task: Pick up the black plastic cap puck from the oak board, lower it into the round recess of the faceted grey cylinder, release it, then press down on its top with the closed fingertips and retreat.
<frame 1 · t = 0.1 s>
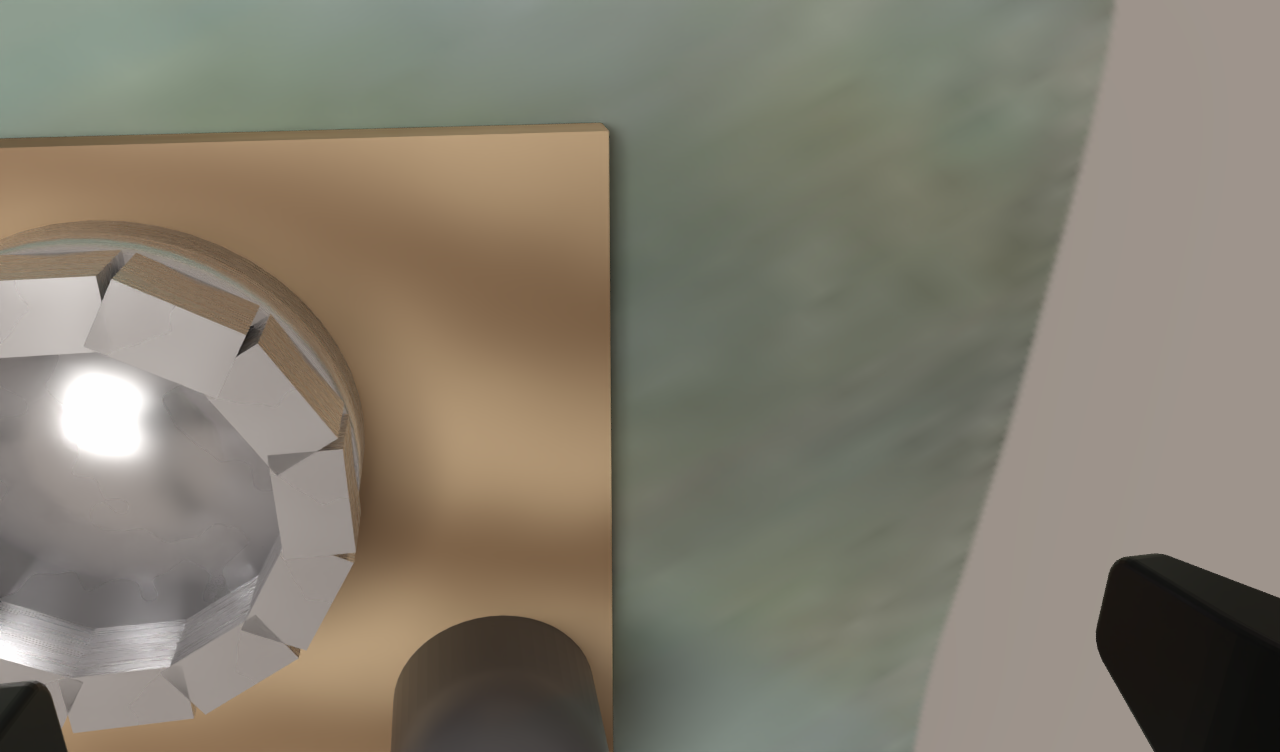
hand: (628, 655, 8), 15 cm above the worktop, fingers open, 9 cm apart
board: (287, 523, 23), on the worktop
cap: (495, 697, 25), point 1 cm above the worktop, touching board
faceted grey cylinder: (136, 436, 21), resting on board
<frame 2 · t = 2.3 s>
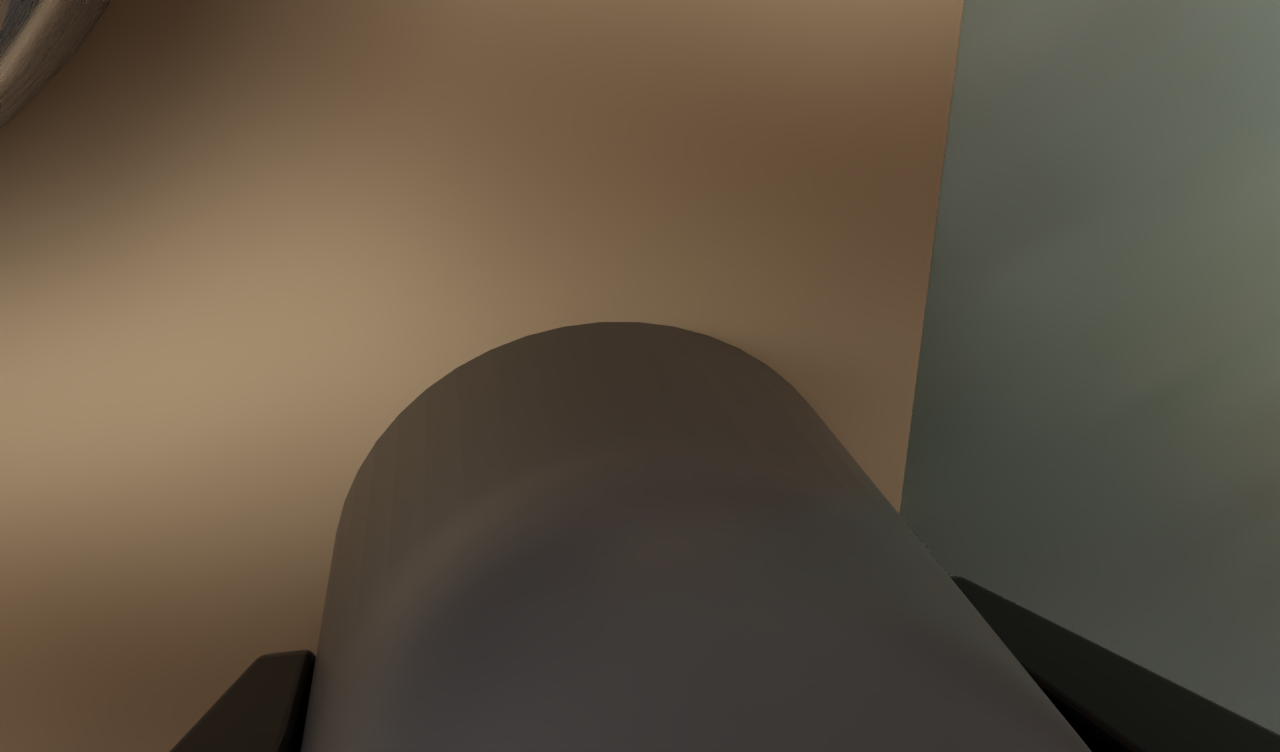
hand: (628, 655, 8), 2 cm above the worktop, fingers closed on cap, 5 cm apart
board: (3, 9, 8), on the worktop
cap: (603, 566, 10), point 1 cm above the worktop, touching board, gripper
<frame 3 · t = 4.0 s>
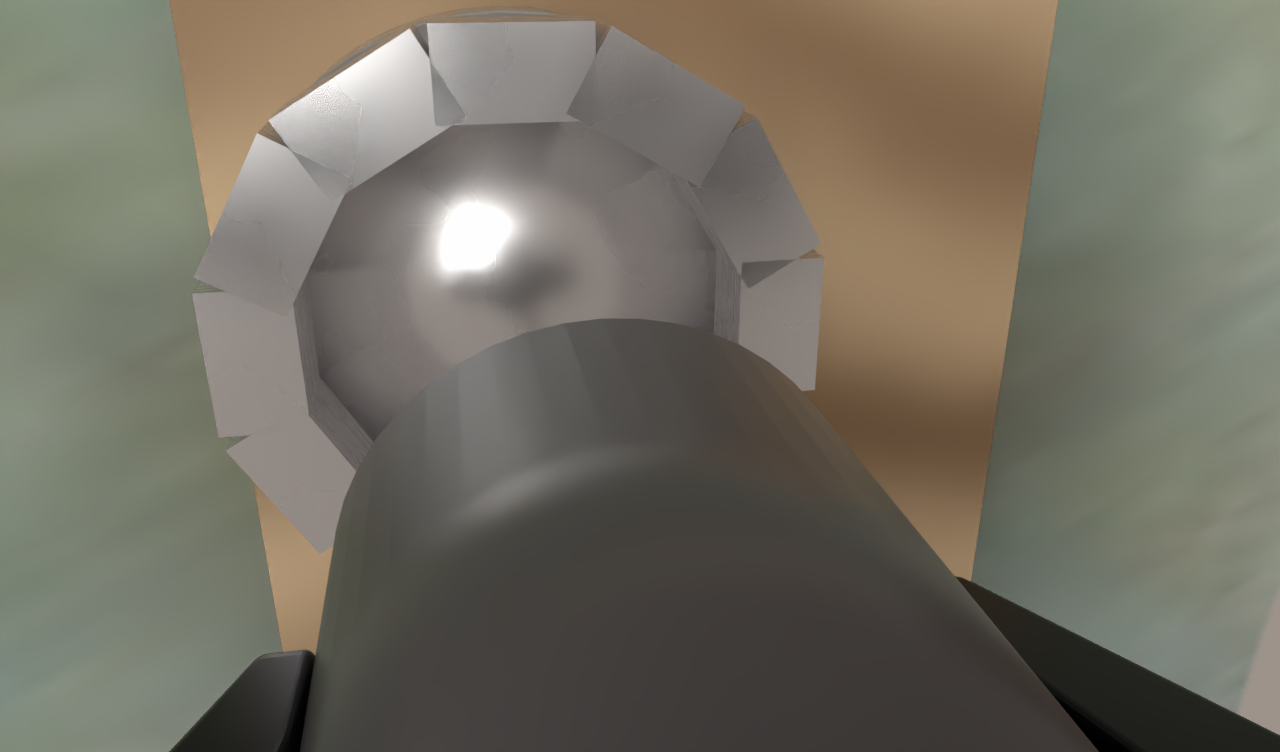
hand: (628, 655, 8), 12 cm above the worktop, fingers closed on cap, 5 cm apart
board: (638, 395, 21), on the worktop
cap: (604, 563, 10), point 10 cm above the worktop, touching gripper
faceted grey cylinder: (512, 276, 18), resting on board
when the fingers open (5 cm above the worktop, at t = 5.6 s): cap stays where it is, resting on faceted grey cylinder.
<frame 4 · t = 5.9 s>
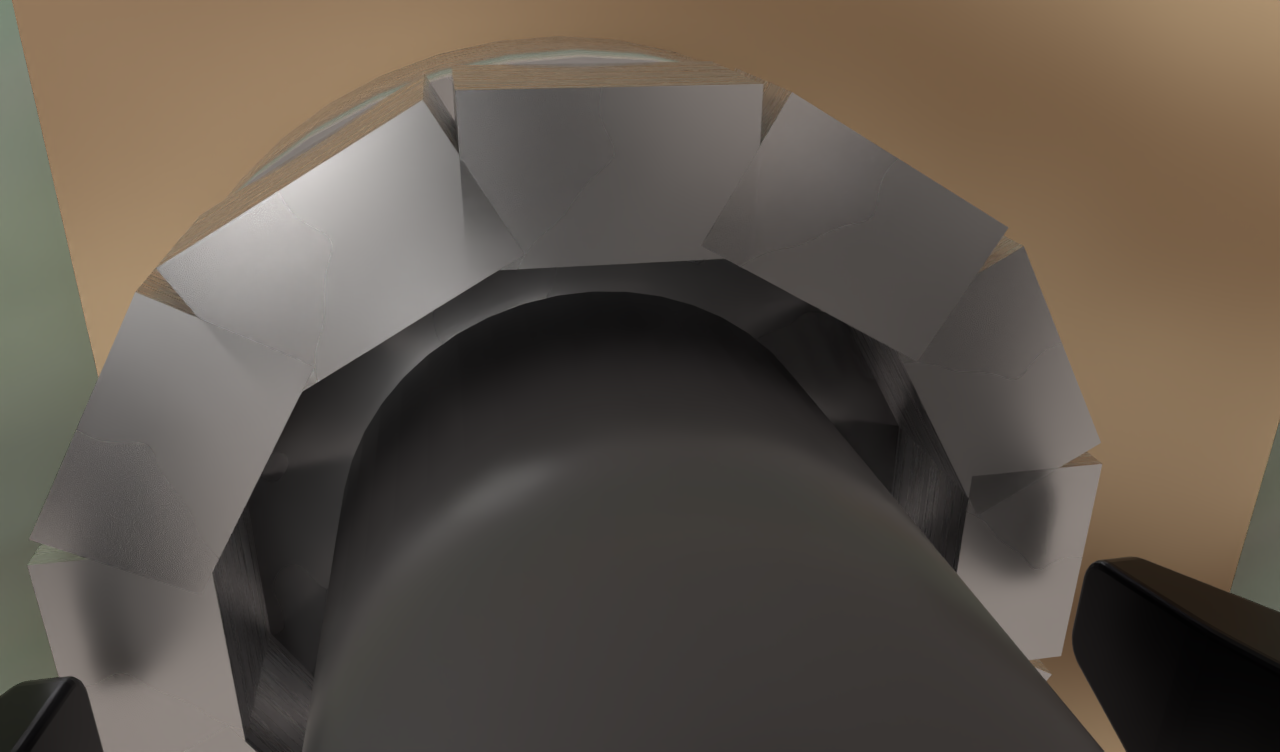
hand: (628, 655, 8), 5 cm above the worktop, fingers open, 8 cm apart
board: (734, 578, 15), on the worktop
cap: (595, 524, 10), point 3 cm above the worktop, touching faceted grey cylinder
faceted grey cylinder: (567, 439, 12), resting on board
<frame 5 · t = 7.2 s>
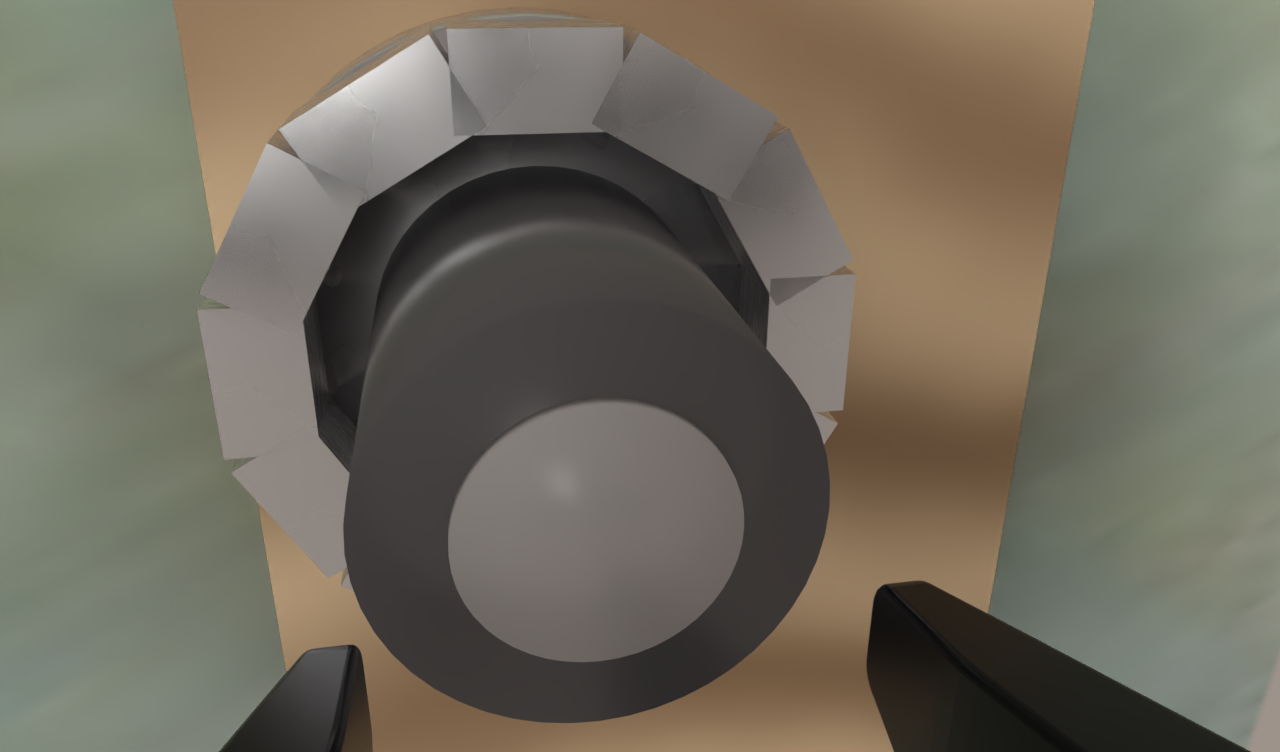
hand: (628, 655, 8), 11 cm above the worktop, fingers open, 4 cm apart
board: (654, 408, 20), on the worktop
cap: (540, 325, 16), point 3 cm above the worktop, touching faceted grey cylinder
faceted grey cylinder: (526, 288, 17), resting on board
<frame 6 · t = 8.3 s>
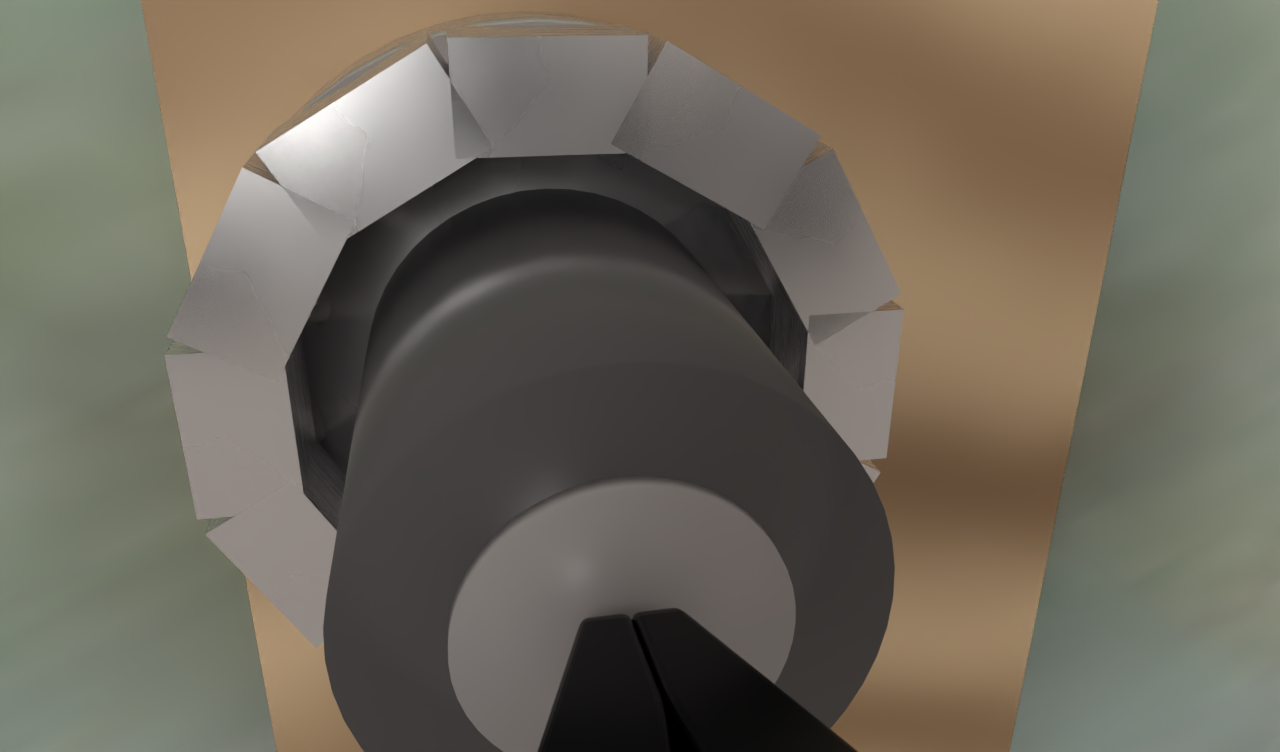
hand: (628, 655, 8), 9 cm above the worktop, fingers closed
board: (671, 444, 18), on the worktop
cap: (550, 364, 14), point 3 cm above the worktop, touching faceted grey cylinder
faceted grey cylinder: (534, 318, 16), resting on board
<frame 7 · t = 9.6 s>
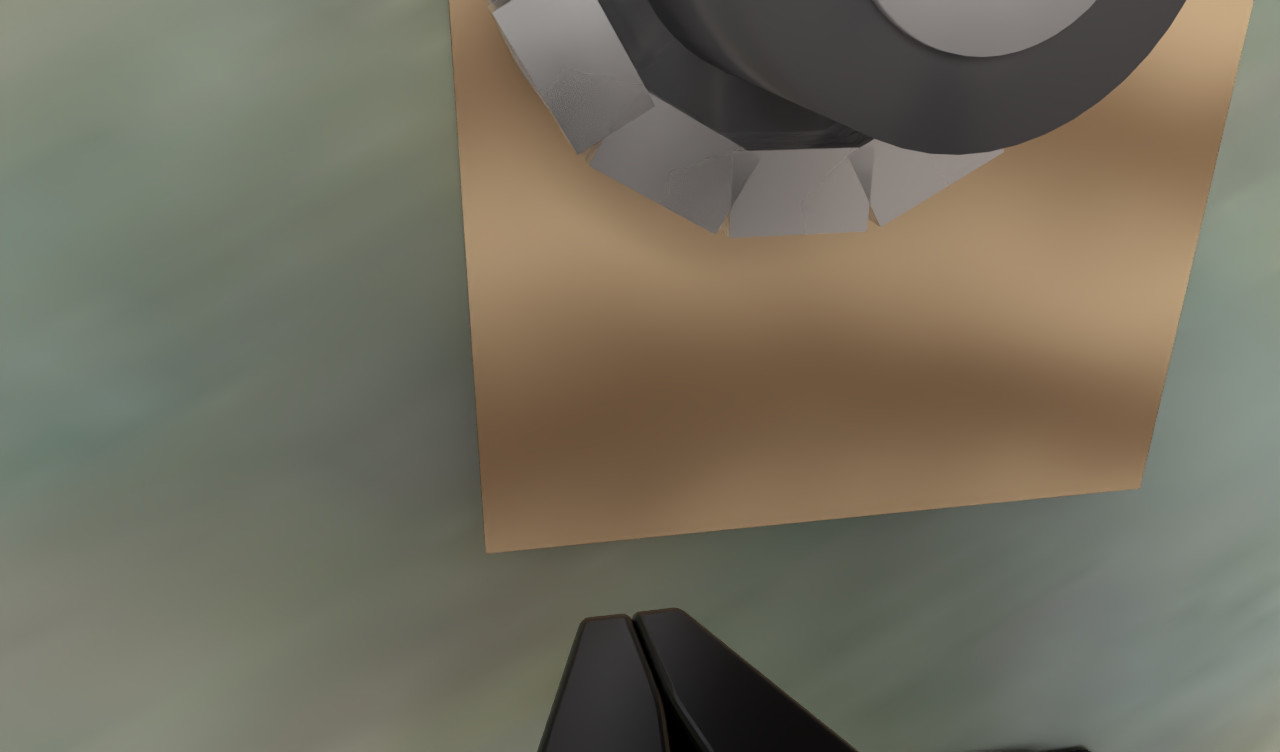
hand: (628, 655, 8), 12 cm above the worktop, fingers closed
board: (851, 88, 19), on the worktop
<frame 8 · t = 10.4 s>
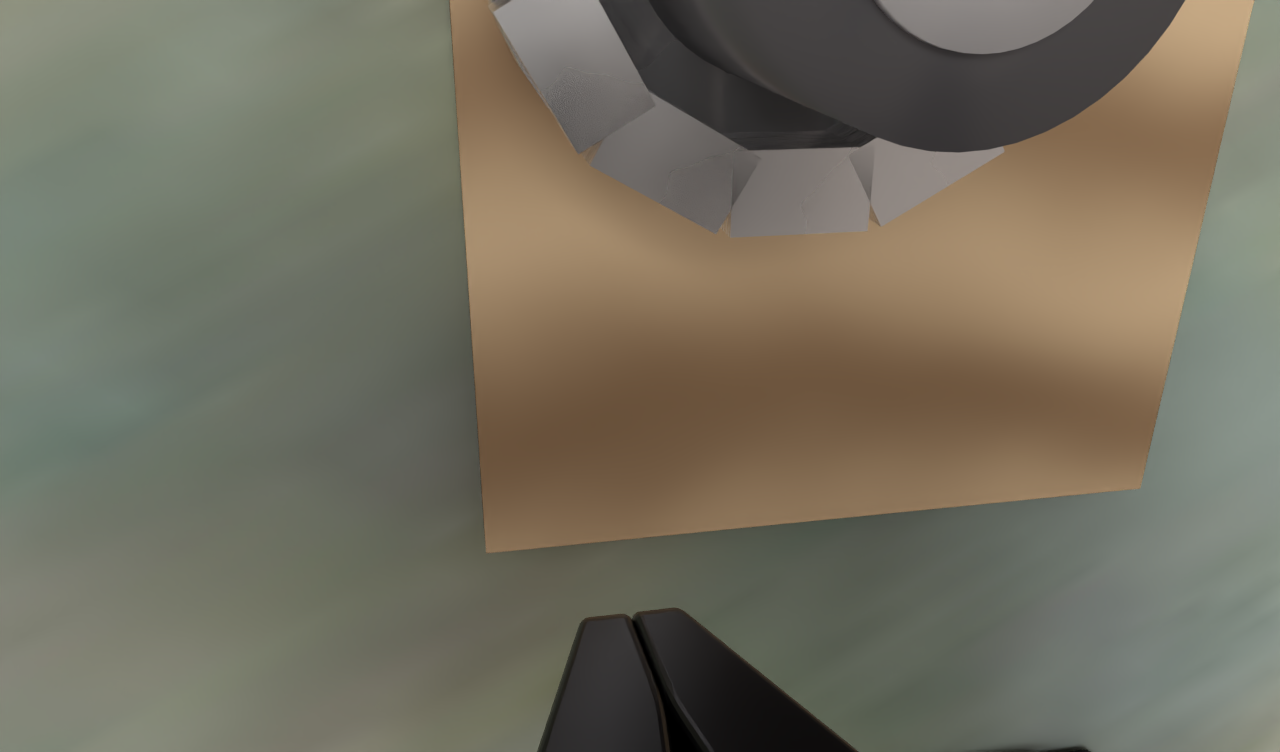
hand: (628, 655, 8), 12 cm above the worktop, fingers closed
board: (852, 87, 19), on the worktop
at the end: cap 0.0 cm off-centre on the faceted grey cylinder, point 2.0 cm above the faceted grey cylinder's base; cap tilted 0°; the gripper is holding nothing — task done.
